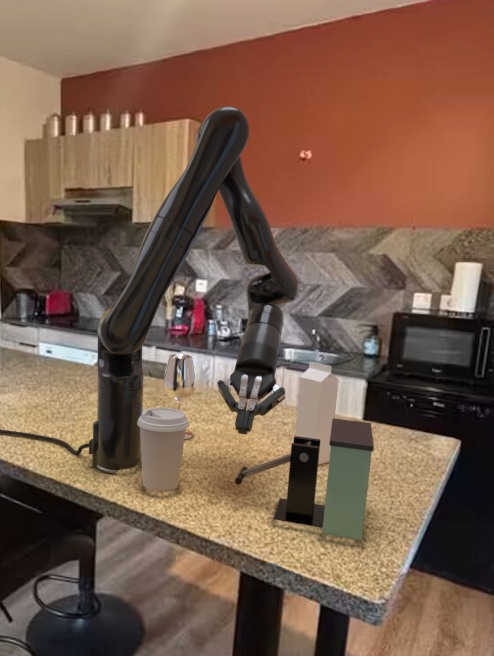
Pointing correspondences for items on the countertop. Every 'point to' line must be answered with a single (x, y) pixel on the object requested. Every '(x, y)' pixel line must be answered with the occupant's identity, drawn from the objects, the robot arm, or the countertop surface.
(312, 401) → the milk
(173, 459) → the coffee cup
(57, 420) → the countertop surface
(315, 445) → the black lever stand
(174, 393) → the wineglass
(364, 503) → the green lidded box
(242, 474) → the lever
